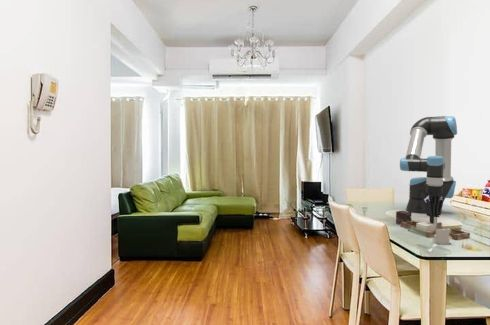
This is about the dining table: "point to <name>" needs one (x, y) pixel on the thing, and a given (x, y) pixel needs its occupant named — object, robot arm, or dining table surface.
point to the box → (402, 216)
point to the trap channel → (454, 233)
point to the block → (425, 226)
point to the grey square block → (442, 236)
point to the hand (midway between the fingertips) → (433, 228)
